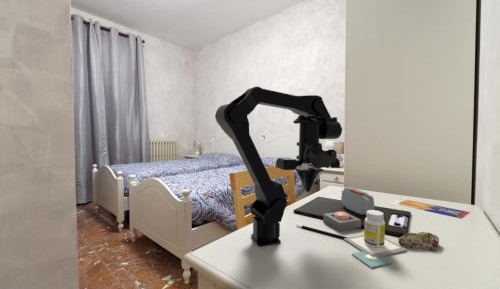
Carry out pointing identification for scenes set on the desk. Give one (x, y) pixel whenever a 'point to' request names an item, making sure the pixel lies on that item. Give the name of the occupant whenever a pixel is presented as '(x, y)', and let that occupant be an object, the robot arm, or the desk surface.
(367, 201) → the grey rounded slab
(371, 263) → the card
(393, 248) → the sketch pad
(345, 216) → the button
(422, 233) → the mineral rock
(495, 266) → the desk surface
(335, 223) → the button housing
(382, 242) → the supplement bottle
